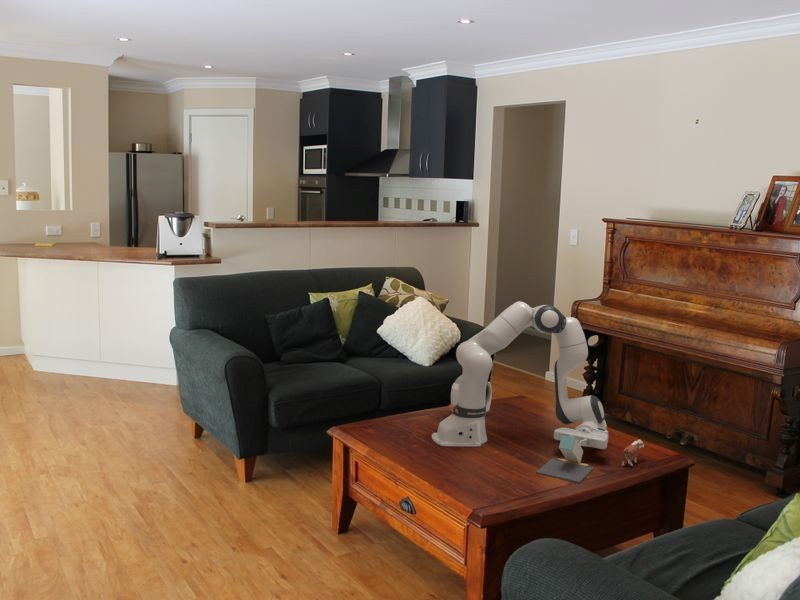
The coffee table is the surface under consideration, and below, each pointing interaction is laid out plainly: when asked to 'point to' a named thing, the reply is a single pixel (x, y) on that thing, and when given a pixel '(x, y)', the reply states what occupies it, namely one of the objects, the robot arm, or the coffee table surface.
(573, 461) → the oak stop strip
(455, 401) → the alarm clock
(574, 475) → the charcoal rubber mat
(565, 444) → the cream block
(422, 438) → the coffee table surface
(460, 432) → the robot arm
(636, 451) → the bull figurine
